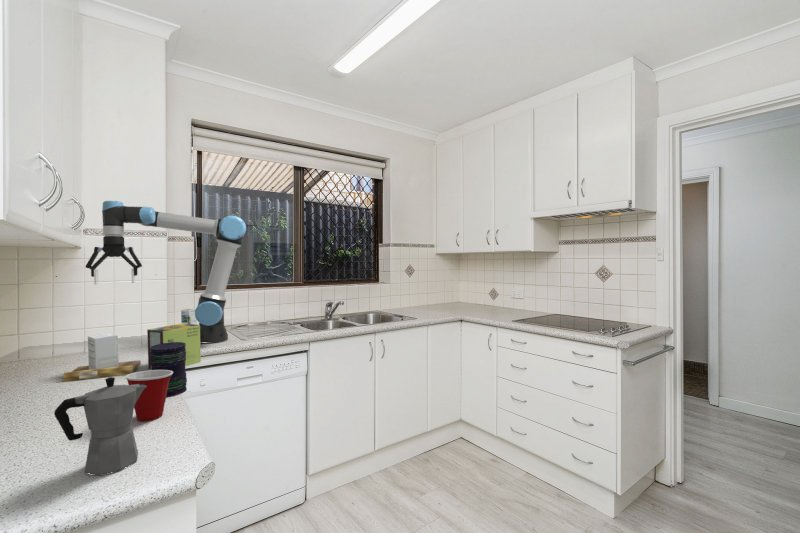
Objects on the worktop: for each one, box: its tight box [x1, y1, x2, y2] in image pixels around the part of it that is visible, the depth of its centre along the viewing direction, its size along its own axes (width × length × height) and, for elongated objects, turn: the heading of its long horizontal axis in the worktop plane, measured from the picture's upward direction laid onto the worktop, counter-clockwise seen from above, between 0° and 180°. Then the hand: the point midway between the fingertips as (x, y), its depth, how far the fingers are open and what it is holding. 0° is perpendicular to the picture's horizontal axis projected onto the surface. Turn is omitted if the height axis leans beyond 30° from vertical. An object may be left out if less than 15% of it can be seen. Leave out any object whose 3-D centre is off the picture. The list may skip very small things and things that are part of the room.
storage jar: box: [150, 342, 188, 398], centre depth 122 cm, size 10×10×15 cm
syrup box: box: [180, 308, 198, 325], centre depth 214 cm, size 6×6×14 cm
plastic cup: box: [124, 369, 173, 422], centre depth 103 cm, size 11×11×12 cm
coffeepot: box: [53, 376, 147, 476], centre depth 78 cm, size 15×9×18 cm, turn 144°
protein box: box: [146, 323, 202, 370], centre depth 153 cm, size 10×15×16 cm
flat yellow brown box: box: [63, 359, 142, 382], centre depth 144 cm, size 20×15×3 cm
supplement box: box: [87, 332, 120, 370], centre depth 143 cm, size 7×7×13 cm
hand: (115, 283), depth 172 cm, fingers open, 13 cm apart
